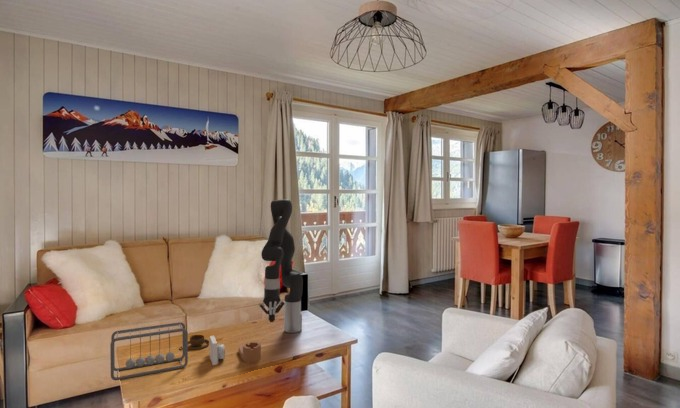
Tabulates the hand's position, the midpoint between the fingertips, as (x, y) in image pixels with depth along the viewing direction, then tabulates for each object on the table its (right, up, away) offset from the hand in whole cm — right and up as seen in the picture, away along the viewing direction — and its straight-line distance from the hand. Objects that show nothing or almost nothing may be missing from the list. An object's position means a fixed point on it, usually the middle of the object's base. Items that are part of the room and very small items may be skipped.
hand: (271, 321), depth 196 cm
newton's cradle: (-50, -15, -21) cm, 56 cm away
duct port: (-23, -15, -11) cm, 30 cm away
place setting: (-38, -15, +2) cm, 40 cm away
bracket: (-10, -15, -5) cm, 19 cm away
